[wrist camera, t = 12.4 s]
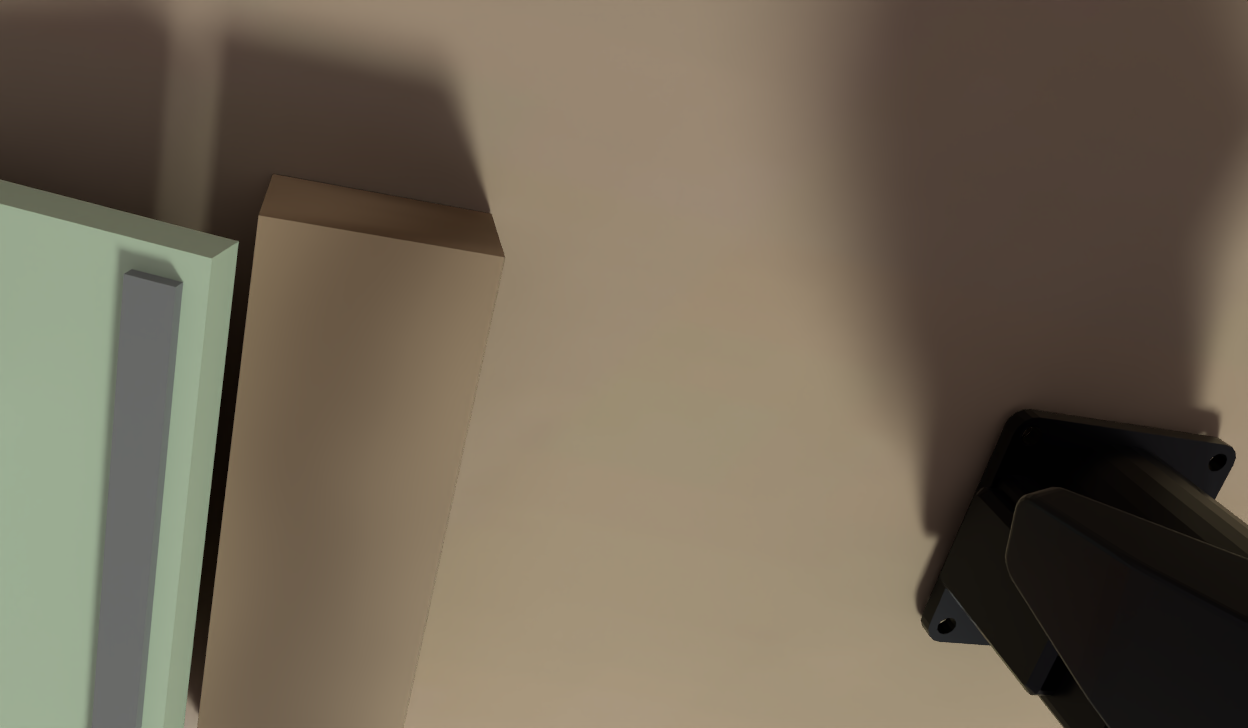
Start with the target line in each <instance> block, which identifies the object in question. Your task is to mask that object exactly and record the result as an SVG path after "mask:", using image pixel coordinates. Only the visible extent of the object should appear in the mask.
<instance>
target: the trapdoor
mask: <svg viewBox="0 0 1248 728" xmlns="http://www.w3.org/2000/svg"><path fill="white" fill-rule="evenodd" d="M238 244H239V241H235V240H232V239H228V238H224V237H220V236H216V235H212V234H209V233H205V232H201V231H197V230H193V229H189V228H185V227H182V226H178V225H174V224H170V223H166V222H162V221H158V220H155V219H151V218H147V217H143V216H139V215H135V214H131V213H128V212H124V211H120V210H116V209H112V208H108V207H104V206H101V205H97V204H93V203H89V202H85V201H81V200H77V199H74V198H70V197H66V196H62V195H58V194H54V193H50V192H47V191H43V190H39V189H35V188H31V187H27V186H24V185H20V184H16V183H12V182H8V181H4V180H0V728H184V720H185V711H186V702H187V694H188V685H189V676H190V667H191V658H192V649H193V641H194V632H195V623H196V614H197V605H198V596H199V588H200V579H201V570H202V561H203V552H204V544H205V535H206V526H207V517H208V508H209V499H210V491H211V482H212V473H213V464H214V455H215V446H216V438H217V429H218V420H219V411H220V402H221V394H222V385H223V376H224V367H225V358H226V349H227V341H228V332H229V323H230V314H231V305H232V296H233V288H234V279H235V270H236V261H237V252H238Z"/></svg>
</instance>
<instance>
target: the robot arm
mask: <svg viewBox="0 0 1248 728" xmlns="http://www.w3.org/2000/svg"><path fill="white" fill-rule="evenodd" d="M1030 427H1032V430H1031V431H1030V432H1029V434H1027V435H1026V436H1024V437H1022V435H1023V433H1024V432H1025V431H1026V430H1027V429H1029V428H1030ZM1212 457H1213V458H1212ZM1235 459H1236V454H1235V451H1234V449H1233V448H1232V447H1231V446H1230V445H1228V444H1227V443H1225V442H1224V441H1222V440H1221V439H1219V438H1216V437H1211V436H1204V435H1198V434H1191V433H1184V432H1178V431H1171V430H1165V429H1158V428H1151V427H1145V426H1138V425H1131V424H1125V423H1118V422H1111V421H1105V420H1098V419H1091V418H1085V417H1078V416H1072V415H1065V414H1058V413H1052V412H1045V411H1038V410H1032V409H1028V410H1021V411H1019V412H1017V413H1015V414H1014V415H1013V416H1011V417H1010V418H1009V419H1008V421H1007V422H1006V424H1005V426H1004V428H1003V430H1002V433H1001V435H1000V437H999V439H998V442H997V444H996V446H995V449H994V451H993V453H992V456H991V458H990V460H989V462H988V465H987V467H986V469H985V472H984V474H983V476H982V479H981V481H980V483H979V485H978V488H977V490H976V492H975V495H974V497H973V499H972V502H971V504H970V506H969V508H968V511H967V513H966V515H965V518H964V520H963V522H962V524H961V527H960V529H959V531H958V534H957V536H956V538H955V541H954V543H953V545H952V547H951V550H950V552H949V554H948V557H947V559H946V561H945V564H944V566H943V568H942V570H941V573H940V575H939V577H938V580H937V582H936V584H935V587H934V589H933V591H932V593H931V596H930V598H929V600H928V603H927V605H926V607H925V610H924V612H923V614H922V618H921V622H922V626H923V628H924V629H925V630H926V632H927V633H928V635H929V636H930V637H931V638H932V639H933V640H935V641H939V642H950V643H964V644H978V645H991V647H992V648H993V649H994V650H995V652H996V653H997V654H998V656H999V657H1000V658H1001V659H1002V661H1003V662H1004V663H1005V665H1006V666H1007V667H1008V668H1009V670H1010V671H1011V672H1012V673H1013V675H1014V676H1015V677H1016V679H1017V680H1018V681H1019V682H1020V684H1021V685H1022V686H1023V688H1024V689H1025V690H1026V691H1027V692H1028V693H1029V694H1030V695H1038V696H1039V697H1040V699H1041V700H1042V701H1043V702H1044V704H1045V705H1046V706H1047V708H1048V709H1049V710H1050V711H1051V713H1052V714H1053V715H1054V716H1055V718H1056V719H1057V720H1058V721H1059V723H1060V724H1061V725H1062V727H1063V728H1248V525H1247V524H1246V523H1245V522H1243V521H1242V520H1241V519H1239V518H1238V517H1237V516H1235V515H1234V514H1233V513H1231V512H1230V511H1229V510H1228V509H1226V508H1225V507H1224V506H1222V505H1221V504H1220V503H1218V502H1217V501H1216V500H1215V498H1216V496H1217V494H1218V492H1219V491H1220V489H1221V487H1222V485H1223V483H1224V481H1225V479H1226V478H1227V476H1228V474H1229V472H1230V470H1231V468H1232V466H1233V464H1234V462H1235ZM945 618H947V619H946V620H945V621H943V622H942V623H940V622H941V621H942V620H944V619H945Z"/></svg>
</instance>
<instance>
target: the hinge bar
mask: <svg viewBox="0 0 1248 728" xmlns="http://www.w3.org/2000/svg"><path fill="white" fill-rule="evenodd" d="M504 260H505V256H504V252H503V249H502V246H501V243H500V240H499V237H498V233H497V230H496V227H495V224H494V221H493V217H492V214H490V213H484V212H479V211H473V210H468V209H462V208H457V207H452V206H446V205H441V204H435V203H430V202H424V201H419V200H413V199H408V198H402V197H397V196H391V195H386V194H380V193H375V192H369V191H364V190H358V189H353V188H347V187H342V186H336V185H331V184H326V183H320V182H315V181H309V180H304V179H298V178H293V177H287V176H282V175H276V174H273V175H272V178H271V181H270V184H269V187H268V189H267V192H266V195H265V198H264V201H263V204H262V207H261V210H260V213H259V216H258V225H257V233H256V241H255V250H254V258H253V266H252V275H251V283H250V292H249V300H248V308H247V317H246V325H245V333H244V342H243V350H242V358H241V367H240V375H239V383H238V392H237V400H236V408H235V417H234V425H233V434H232V442H231V450H230V459H229V467H228V475H227V484H226V492H225V500H224V509H223V517H222V525H221V534H220V542H219V551H218V559H217V567H216V576H215V584H214V592H213V601H212V609H211V617H210V626H209V634H208V642H207V651H206V659H205V667H204V676H203V684H202V693H201V701H200V709H199V718H198V726H197V728H404V723H405V719H406V714H407V709H408V705H409V700H410V696H411V691H412V686H413V682H414V677H415V672H416V668H417V663H418V659H419V654H420V649H421V645H422V640H423V635H424V631H425V626H426V621H427V617H428V612H429V608H430V603H431V598H432V594H433V589H434V584H435V580H436V575H437V571H438V566H439V561H440V557H441V552H442V547H443V543H444V538H445V533H446V529H447V524H448V520H449V515H450V510H451V506H452V501H453V496H454V492H455V487H456V483H457V478H458V473H459V469H460V464H461V459H462V455H463V450H464V445H465V441H466V436H467V432H468V427H469V422H470V418H471V413H472V408H473V404H474V399H475V395H476V390H477V385H478V381H479V376H480V371H481V367H482V362H483V357H484V353H485V348H486V344H487V339H488V334H489V330H490V325H491V320H492V316H493V311H494V307H495V302H496V297H497V293H498V288H499V283H500V279H501V274H502V269H503V265H504Z"/></svg>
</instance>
